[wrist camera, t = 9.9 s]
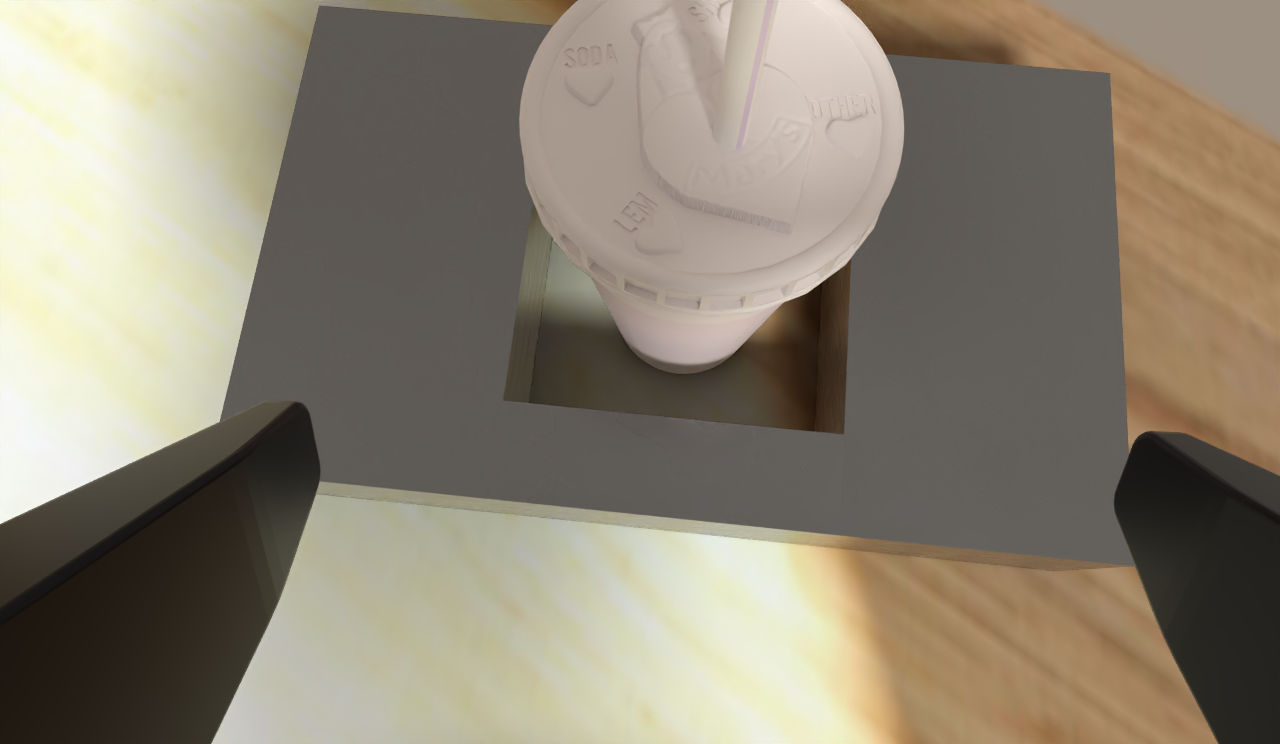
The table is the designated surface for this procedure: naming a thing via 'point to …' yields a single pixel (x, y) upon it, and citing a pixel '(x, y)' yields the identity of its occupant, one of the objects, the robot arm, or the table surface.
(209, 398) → the table surface
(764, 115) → the smoothie
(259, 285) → the block
